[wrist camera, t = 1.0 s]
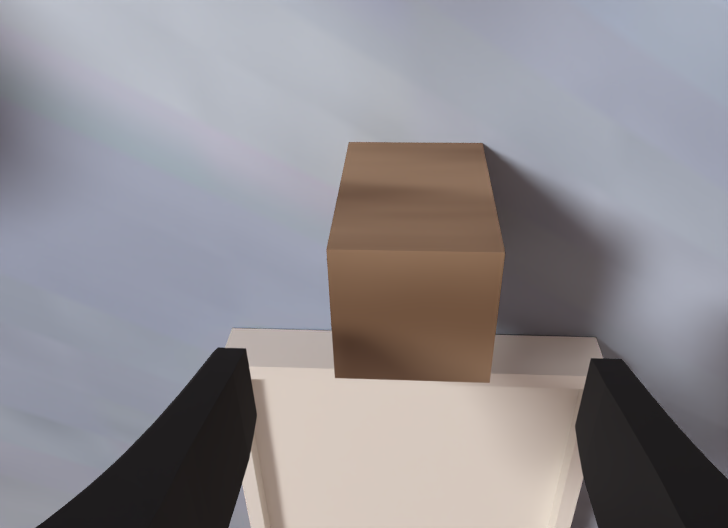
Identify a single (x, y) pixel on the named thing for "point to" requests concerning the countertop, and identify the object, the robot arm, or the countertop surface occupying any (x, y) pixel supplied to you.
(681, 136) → the countertop surface
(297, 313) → the countertop surface
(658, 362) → the countertop surface
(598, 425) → the robot arm
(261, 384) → the serving dish
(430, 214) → the walnut block
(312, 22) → the countertop surface
